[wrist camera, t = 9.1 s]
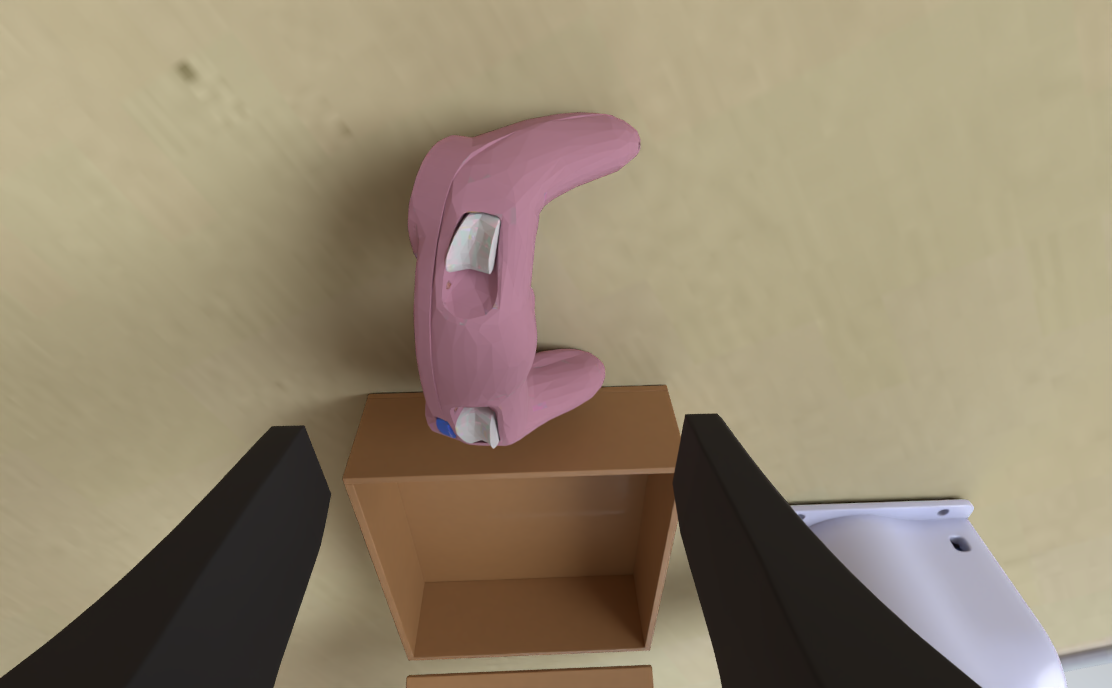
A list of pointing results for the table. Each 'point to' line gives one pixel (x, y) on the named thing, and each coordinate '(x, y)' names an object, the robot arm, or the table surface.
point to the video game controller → (499, 273)
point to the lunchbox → (520, 526)
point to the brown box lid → (541, 678)
